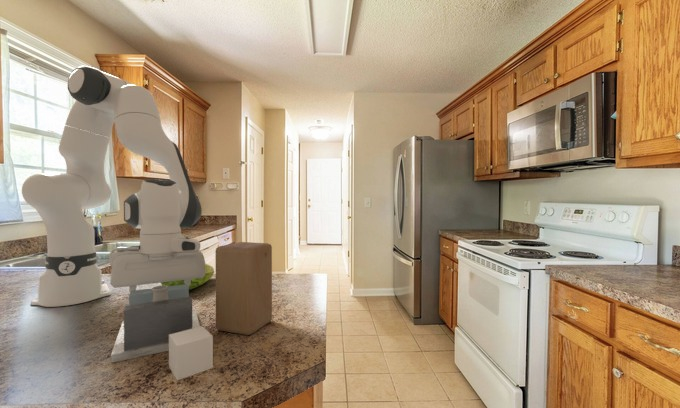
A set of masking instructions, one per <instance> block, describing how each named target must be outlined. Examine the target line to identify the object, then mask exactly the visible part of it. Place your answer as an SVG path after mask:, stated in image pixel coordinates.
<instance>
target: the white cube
mask: <svg viewBox="0 0 680 408" xmlns="http://www.w3.org/2000/svg"><path fill="white" fill-rule="evenodd" d="M213 344H214V337H213V334H211V333H210V332H209V330H208V329H206V328H205V327H204V326H202V325H200V327H197V328H193V329H189V330H185V331H181V332H177V333H173V334H169V351H168V367H169V369H170V371H171V373H172V374H173V375H174V377H175V379H176V381H179V380H180V381H181V380H182V379H186V378H189V377H192V376H193V375H197V374H199V373H202V372H205V371H207V370H211V369H213V368H214V345H213Z"/></svg>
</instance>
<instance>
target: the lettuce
mask: <svg viewBox="0 0 680 408" xmlns="http://www.w3.org/2000/svg"><path fill="white" fill-rule="evenodd" d="M205 265H206V274H205V276H204V277H203V278H196V279H191V284H190V286H189V291H191V290H193V289H195V288H198V287H200V286H202V285H203V284H205V283H206V282H207V281H210V279H211V278H212V277H213V276H214V274H215V268H214V267H213V266H212V265H210V264H208V263H206V262H205ZM160 284H161V285H167V286H177V285H185V282H184V280H179V281H170V282H162V283H160Z"/></svg>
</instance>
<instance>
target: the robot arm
mask: <svg viewBox="0 0 680 408" xmlns="http://www.w3.org/2000/svg"><path fill="white" fill-rule="evenodd" d="M67 90H68V92H69V95H70V96H71V98H72V99H74V100H75V102H74V103H73V105H72V107H71V109H70V111H69V113H68V114H67V115H68V116H67V117H66V120H65V125H64V128H63V131H62V135H61V138H60V142H59V146H58V152H59V154H60V155H61V157H63V159H64V161H65V165H66V173H65V172H64V173H63V172H53V171H52V172H41V173H36V174H33V175H30V176H29V177H27V178H26V179H25V181H24V182H23V183H22V186H21V196H22V198H23V200H24V201H25V202H26V204H28V205H30V206H31V207H32V208H34V209H35V210H36V211H37V213H38V214H39V217H41V218H40V219H41V220H42V222H43V224H44V228H45V231H46V242H47V244H46V247H47V255H46V256H45V261H44V265H45V266H44V267H45V269H46V270H45V271H44V272H43V273H41V274H40V275H39V277H38V287H37V289H38V290H37V298H35V299H33V300H31V301H30V305H31V306H41V307H46V308H50V307H54V308H55V307H56V308H57V307H64V306H70V305H71V306H72V305H78V304H82V303H86V302H90V301H94V300H96V299H100V298H103V297H104V298H105V297H107V296H110V295H111V291H110V289H109V286H108V284H107V283H105V280H104V279H102V275H103V274H102V269H100V267H99V266H98V265H97V263H98V255H97V252H96V249H95V247H96V246H95V243H96V240H95V234H96V233H95V228H94V226H93V225H92V224H90V223H89V222H88V221H87V220H86V217H85V214H84V212H83V210H89V209H91V210H92V209H94V208H99V207H101V206H104V205H105V204H107V203H108V202H109V200H111V199H110V198H111V196H112V190H111V187H110V185H109V184H108V183H107V180H106V175H105V159H106V153H107V151H108V146H109V143H110V139H111V136H112V131H113V126H114V128H115V133H116V136H117V137H116V138H117V140H118V141H119V143H120V144H121V145H122V146H123V147H125V149H127V150H128V151H130V152H132V153H133V154H135V155H138V156H140V157H143V158H147V159H149V160H150V161H152V162H156V163H157V164H159V165H161V166H162V167H163V168H164V169H165V170H166V172H167V174H168V177H169V179H164V178H147V179H145V180H144V179H143V181H142V182H141V186H140V189H139V191H138V192H136V193H135V192H134V193H132V194H131V195H129V196H128V197H127V198H126V199H124V200H123V221H124V222H125V223H126V224H128V225H129V226H131V227H132V228H133V229H138V230H139V229H140V230H139V245H130V246H118V247H116V248H115V249H113V250H111V251H110V252H109V254H108V264H109V265H110V266H111V272H110V279H109V281H110V283H109V285H111V287H113V288H114V289H115V288H116V289H118V288H126V287H128V288H129V289H128V292H129V293H130V292H131V291H136V290H138V289H137V288H138V286H142V285H150V284H151V285H153V284H161V283H162V282H170V281H179V280H184V282H185V284H188V287H189V286H190V284H191V279H196V278H203V277H204V276H205V274H206V265H205V263H206V260H205V256H204V253H203V251H202V250H201V241H199V240H198V239H196V238H191V237H187V236H183V235H182V229H183V228H185V229H189V228H191V227H193V226H194V225H195V224H196V223H197V222H198V221H199V220H200V218H201V217H202V204H201V202H200V199H199V198H198V196H197V194H196V192H195V189H194V188H193V185H192V182H191V178H190V175H189V174H188V170H187V167H186V164H185V161H184V159H183V156H182V154H181V151H180V149H179V147H178V145H177V144H176V143H175V142H174V141H172V140H171V139H170V138H169V137H168V136H167V134H166V133H165V130H164V129H163V127H162V121H161V116H160V112H159V109H158V104H157V103H156V100H155V99H156V98H154V95H153V94H152V92H151V91H150V90H149V89H147V88H145V87H143V86H141V85H138V84H133V83H131V82H129V81H127V80H125V79H123V78H119V77H117V76H114V75H112V74H109V73H106V72H103V71H101V70H100V69H98V68H96V67H92V66H88V65H80V66H77V67H76V68H74V69H73V70H72V71H71V72H70V74H69V78H68V81H67Z"/></svg>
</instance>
